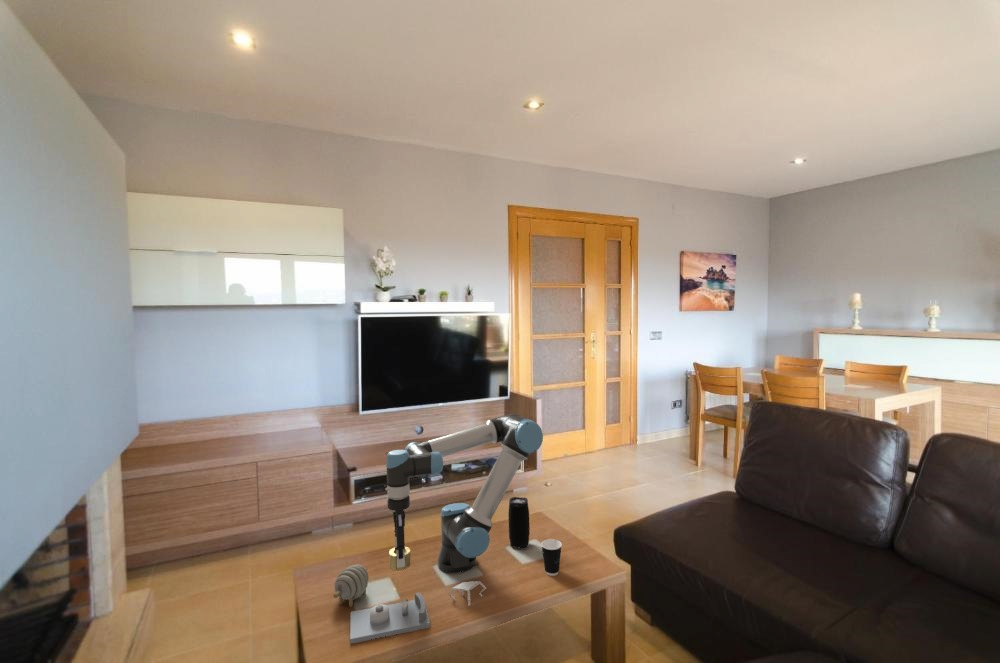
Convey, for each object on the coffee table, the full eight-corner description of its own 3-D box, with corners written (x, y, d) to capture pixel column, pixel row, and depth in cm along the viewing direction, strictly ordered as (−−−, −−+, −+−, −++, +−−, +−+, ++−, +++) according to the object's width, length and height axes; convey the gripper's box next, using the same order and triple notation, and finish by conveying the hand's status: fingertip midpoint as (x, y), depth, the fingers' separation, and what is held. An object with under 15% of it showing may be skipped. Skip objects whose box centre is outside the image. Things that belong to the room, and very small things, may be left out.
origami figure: (461, 611, 162) (460, 596, 161) (448, 599, 168) (448, 585, 168) (490, 598, 169) (490, 584, 168) (477, 587, 175) (477, 574, 175)
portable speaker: (531, 541, 209) (530, 496, 209) (526, 551, 200) (525, 505, 200) (512, 539, 212) (511, 494, 211) (506, 549, 203) (505, 503, 202)
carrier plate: (424, 602, 167) (423, 587, 167) (429, 627, 153) (429, 611, 153) (350, 616, 160) (350, 600, 160) (350, 643, 147) (349, 626, 146)
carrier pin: (407, 611, 159) (407, 598, 159) (408, 615, 157) (408, 601, 157) (401, 613, 159) (401, 599, 159) (402, 616, 157) (401, 603, 157)
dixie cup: (562, 578, 180) (562, 549, 179) (541, 577, 181) (540, 548, 180) (562, 567, 188) (561, 539, 187) (541, 566, 189) (541, 538, 188)
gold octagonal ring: (409, 559, 174) (409, 545, 173) (410, 568, 167) (410, 554, 167) (389, 561, 172) (388, 547, 172) (390, 571, 165) (389, 557, 165)
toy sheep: (377, 588, 176) (376, 558, 176) (351, 616, 160) (350, 583, 159) (351, 584, 179) (350, 554, 178) (323, 612, 163) (322, 579, 162)
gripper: (386, 487, 177) (387, 549, 178) (388, 508, 158) (390, 577, 159) (407, 485, 179) (408, 546, 180) (412, 505, 160) (413, 574, 161)
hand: (400, 561), depth 169 cm, fingers closed on gold octagonal ring, 7 cm apart
